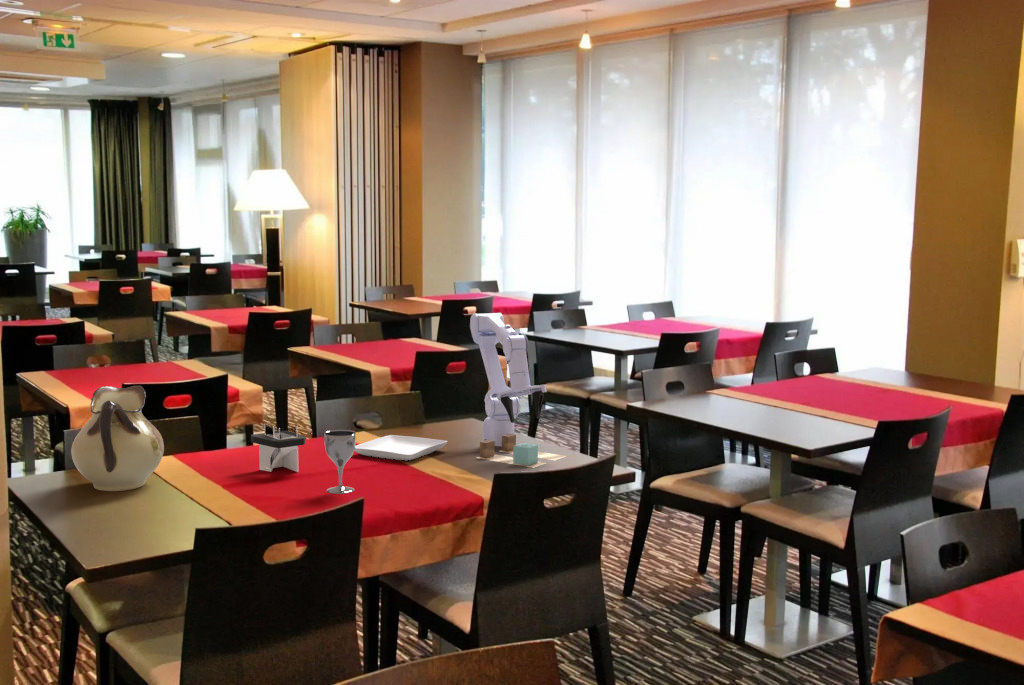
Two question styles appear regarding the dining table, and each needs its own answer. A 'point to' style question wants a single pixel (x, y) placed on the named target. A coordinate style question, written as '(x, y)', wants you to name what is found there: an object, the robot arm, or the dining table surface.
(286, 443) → the black-topped pedestal
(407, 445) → the salad plate
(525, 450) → the teal block
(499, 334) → the robot arm
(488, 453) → the strip
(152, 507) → the dining table surface
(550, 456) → the empty strip
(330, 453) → the wine glass
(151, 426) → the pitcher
